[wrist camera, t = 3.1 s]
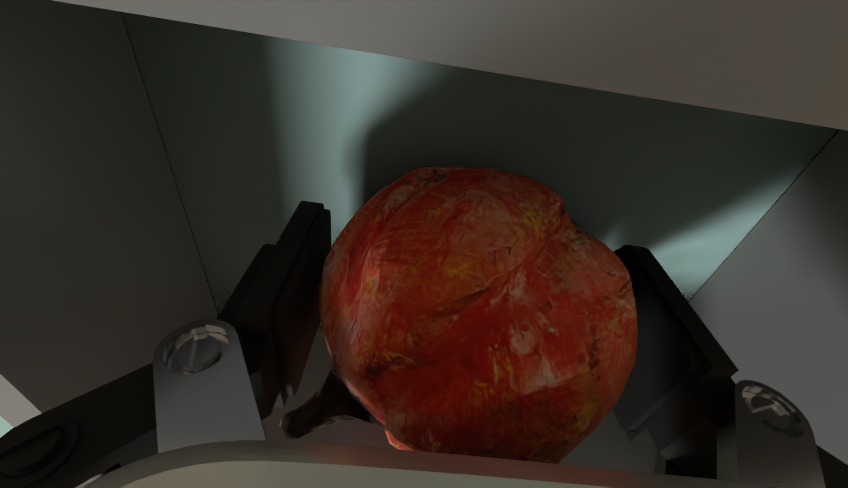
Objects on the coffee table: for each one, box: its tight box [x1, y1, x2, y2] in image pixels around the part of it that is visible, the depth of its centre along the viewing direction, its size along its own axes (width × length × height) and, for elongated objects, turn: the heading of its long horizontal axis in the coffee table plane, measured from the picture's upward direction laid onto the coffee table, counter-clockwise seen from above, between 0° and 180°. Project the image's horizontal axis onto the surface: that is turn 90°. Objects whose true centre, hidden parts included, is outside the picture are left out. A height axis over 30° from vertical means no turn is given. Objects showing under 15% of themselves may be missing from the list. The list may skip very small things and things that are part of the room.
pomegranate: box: [279, 165, 638, 464], centre depth 9 cm, size 7×7×10 cm
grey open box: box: [0, 0, 848, 473], centre depth 9 cm, size 14×20×6 cm
